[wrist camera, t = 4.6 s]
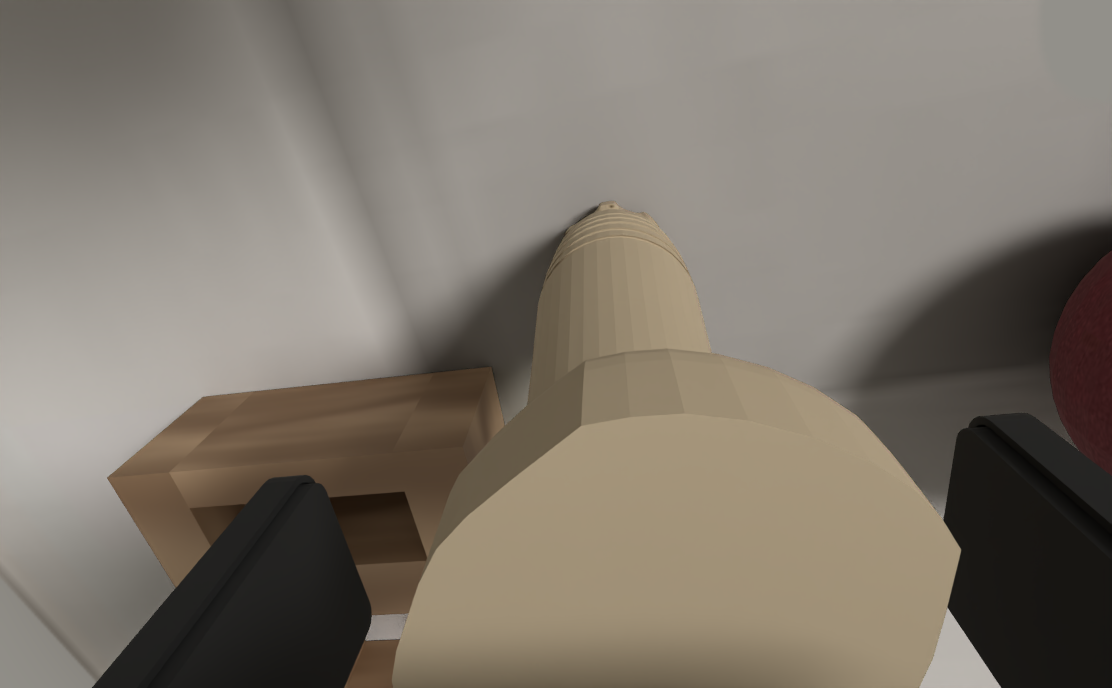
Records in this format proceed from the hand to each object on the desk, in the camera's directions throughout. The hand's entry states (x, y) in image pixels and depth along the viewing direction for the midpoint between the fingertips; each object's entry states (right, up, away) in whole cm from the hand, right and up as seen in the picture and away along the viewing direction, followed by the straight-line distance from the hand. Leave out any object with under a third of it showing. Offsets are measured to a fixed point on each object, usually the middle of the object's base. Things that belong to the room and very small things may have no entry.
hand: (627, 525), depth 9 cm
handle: (+1, +6, +11) cm, 12 cm away
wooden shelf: (-8, -6, +17) cm, 20 cm away
